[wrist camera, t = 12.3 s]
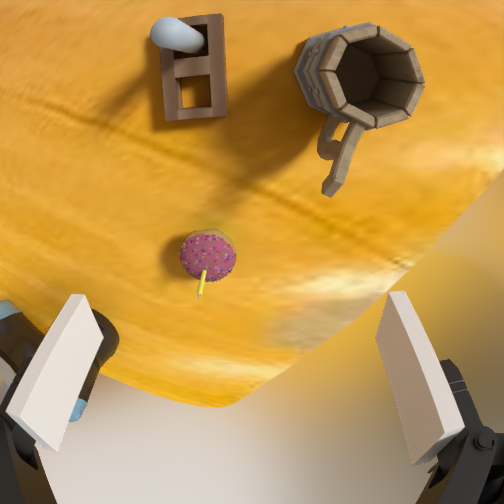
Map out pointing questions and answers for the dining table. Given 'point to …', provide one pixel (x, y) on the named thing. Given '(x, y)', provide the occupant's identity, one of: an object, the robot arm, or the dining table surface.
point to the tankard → (357, 87)
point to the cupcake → (207, 256)
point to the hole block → (196, 72)
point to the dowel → (177, 36)
